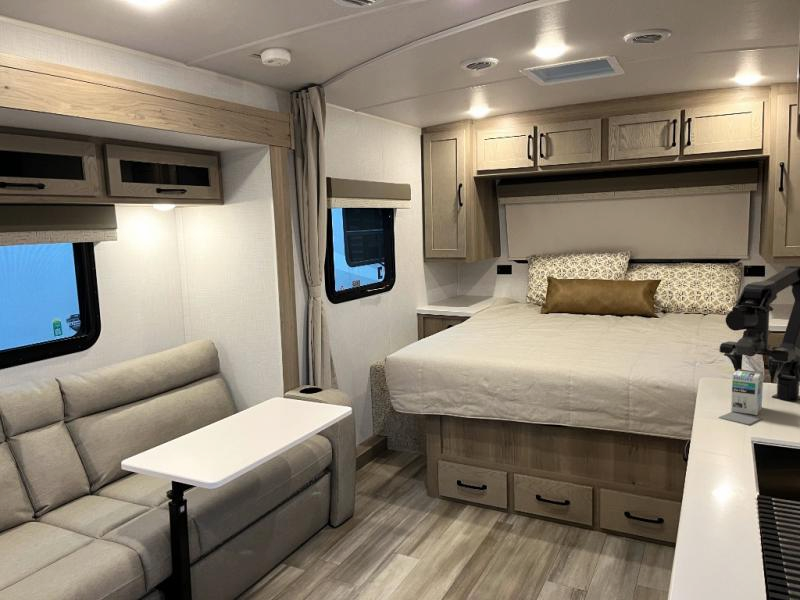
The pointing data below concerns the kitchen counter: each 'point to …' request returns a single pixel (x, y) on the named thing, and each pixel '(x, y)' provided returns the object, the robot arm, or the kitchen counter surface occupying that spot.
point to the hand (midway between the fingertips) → (755, 379)
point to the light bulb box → (747, 391)
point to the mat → (741, 418)
